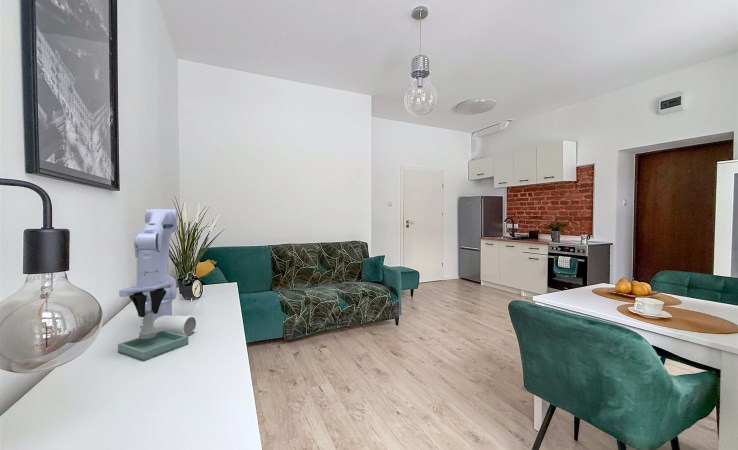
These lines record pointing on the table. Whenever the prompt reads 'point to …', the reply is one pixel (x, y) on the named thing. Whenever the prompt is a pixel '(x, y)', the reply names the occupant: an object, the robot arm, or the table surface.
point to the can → (175, 324)
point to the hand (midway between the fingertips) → (148, 314)
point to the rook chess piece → (147, 326)
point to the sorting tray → (152, 345)
